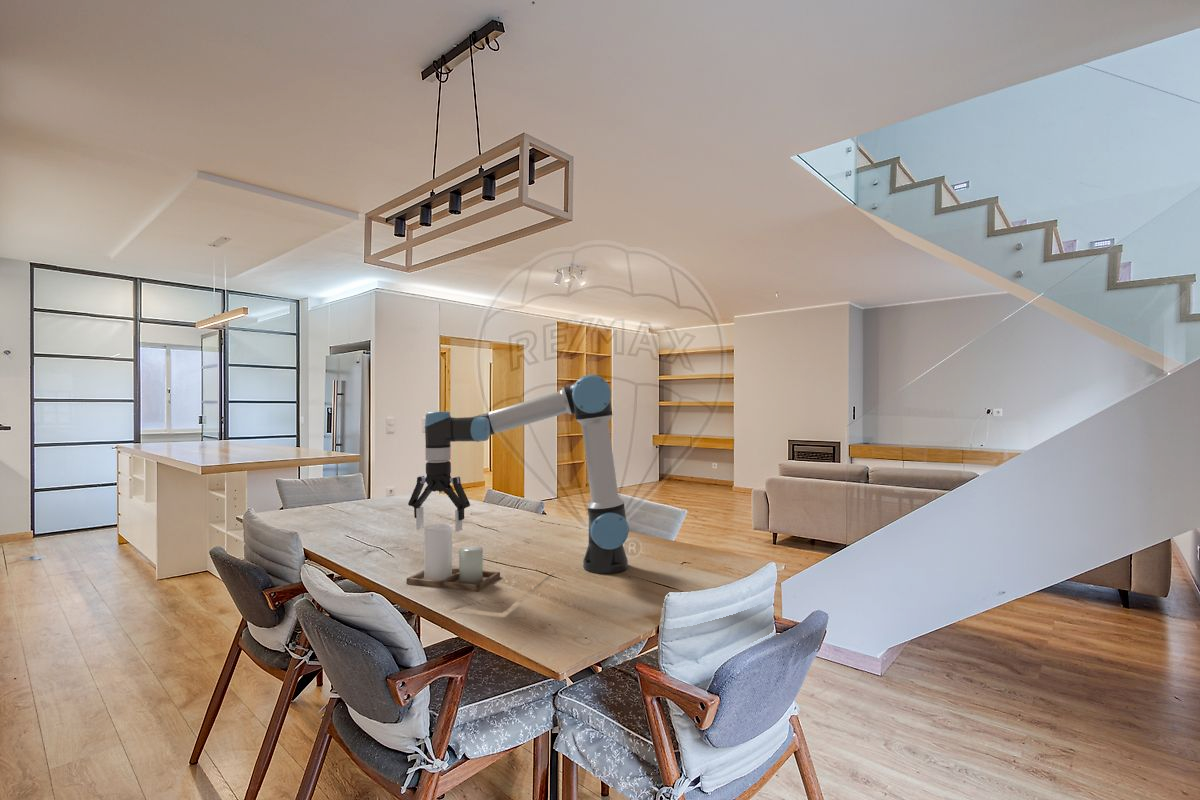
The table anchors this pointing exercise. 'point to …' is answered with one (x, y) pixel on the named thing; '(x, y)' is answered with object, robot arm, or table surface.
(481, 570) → the pale green rounded cylinder
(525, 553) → the table surface
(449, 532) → the cup
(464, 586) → the caddy
